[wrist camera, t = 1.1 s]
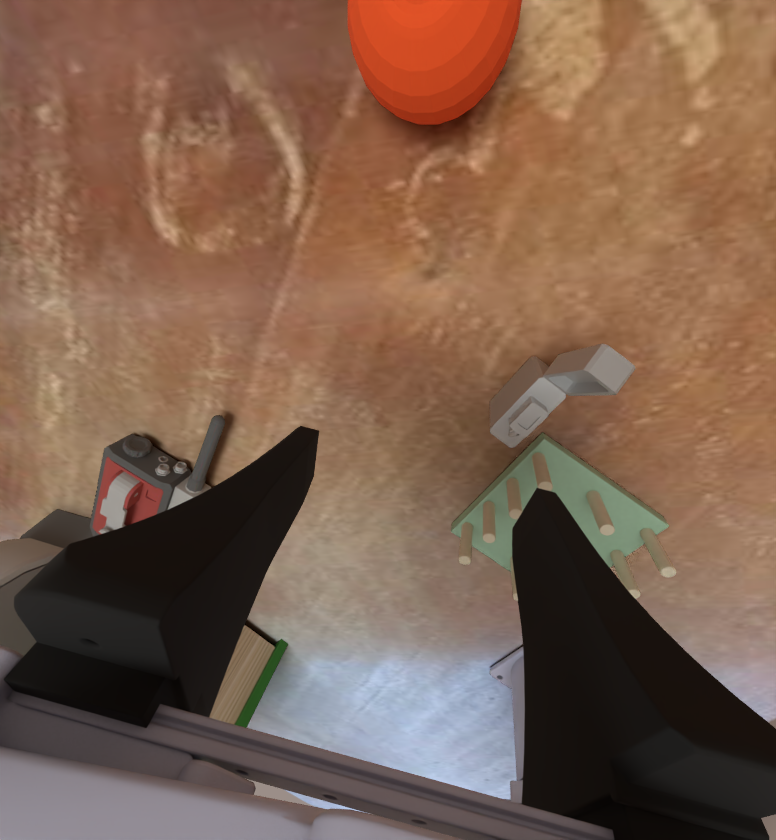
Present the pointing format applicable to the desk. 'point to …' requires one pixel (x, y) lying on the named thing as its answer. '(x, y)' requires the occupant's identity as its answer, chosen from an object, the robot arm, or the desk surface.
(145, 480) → the walkie-talkie
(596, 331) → the desk surface
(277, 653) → the hardback book
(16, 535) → the desk surface
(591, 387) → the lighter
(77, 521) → the alarm clock
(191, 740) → the robot arm
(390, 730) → the desk surface
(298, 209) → the desk surface
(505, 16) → the clementine
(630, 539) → the dish rack
